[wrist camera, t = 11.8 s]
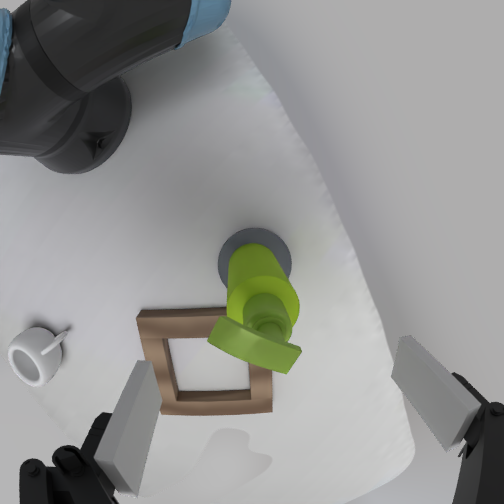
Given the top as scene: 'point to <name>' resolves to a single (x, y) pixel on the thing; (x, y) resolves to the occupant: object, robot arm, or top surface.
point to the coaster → (257, 237)
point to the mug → (36, 355)
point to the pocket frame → (174, 401)
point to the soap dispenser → (258, 311)
